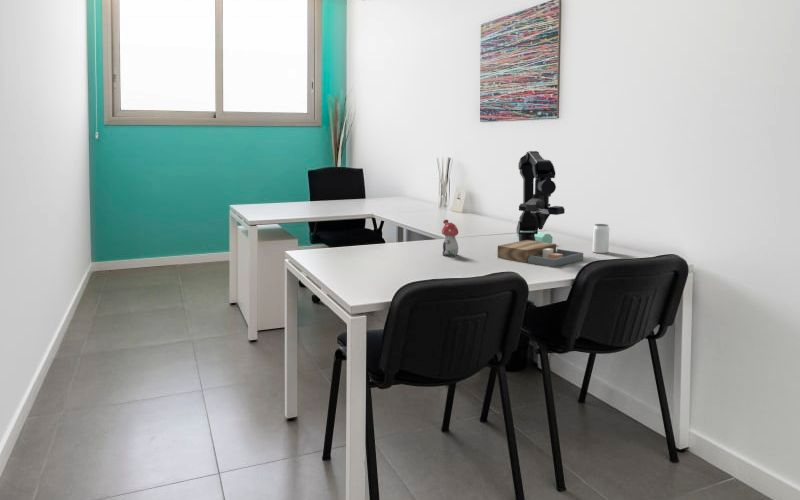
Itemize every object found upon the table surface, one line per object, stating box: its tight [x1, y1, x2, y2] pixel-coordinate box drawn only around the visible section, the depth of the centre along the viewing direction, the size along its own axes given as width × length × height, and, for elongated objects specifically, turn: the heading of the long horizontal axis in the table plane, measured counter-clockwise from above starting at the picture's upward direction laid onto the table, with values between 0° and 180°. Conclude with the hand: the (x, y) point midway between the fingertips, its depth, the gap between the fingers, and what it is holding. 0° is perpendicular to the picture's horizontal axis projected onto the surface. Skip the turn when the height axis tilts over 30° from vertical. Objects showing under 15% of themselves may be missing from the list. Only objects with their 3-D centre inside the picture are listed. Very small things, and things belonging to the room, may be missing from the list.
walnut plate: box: [497, 240, 557, 263], centre depth 255 cm, size 15×20×5 cm
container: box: [516, 231, 553, 244], centre depth 294 cm, size 6×6×25 cm
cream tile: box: [543, 248, 553, 258], centre depth 248 cm, size 4×4×2 cm
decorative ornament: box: [441, 219, 459, 257], centre depth 260 cm, size 9×6×15 cm
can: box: [592, 223, 610, 255], centre depth 262 cm, size 6×6×12 cm
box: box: [527, 248, 584, 268], centre depth 245 cm, size 13×20×3 cm, turn 132°
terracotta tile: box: [548, 253, 563, 259], centre depth 245 cm, size 4×4×2 cm
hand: (540, 229), depth 251 cm, fingers closed
